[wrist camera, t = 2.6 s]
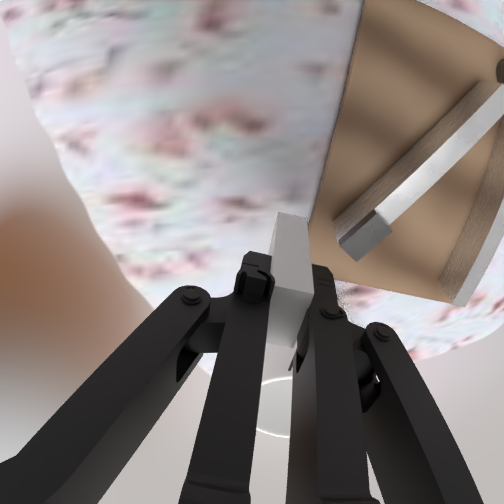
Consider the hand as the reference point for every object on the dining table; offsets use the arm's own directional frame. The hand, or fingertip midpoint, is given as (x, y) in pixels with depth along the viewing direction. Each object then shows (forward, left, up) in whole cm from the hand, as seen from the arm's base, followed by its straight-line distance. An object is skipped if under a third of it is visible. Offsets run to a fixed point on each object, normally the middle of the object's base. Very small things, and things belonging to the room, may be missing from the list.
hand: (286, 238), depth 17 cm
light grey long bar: (-6, +8, -6) cm, 11 cm away
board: (-5, +10, -7) cm, 13 cm away
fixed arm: (-6, +14, -6) cm, 16 cm away
